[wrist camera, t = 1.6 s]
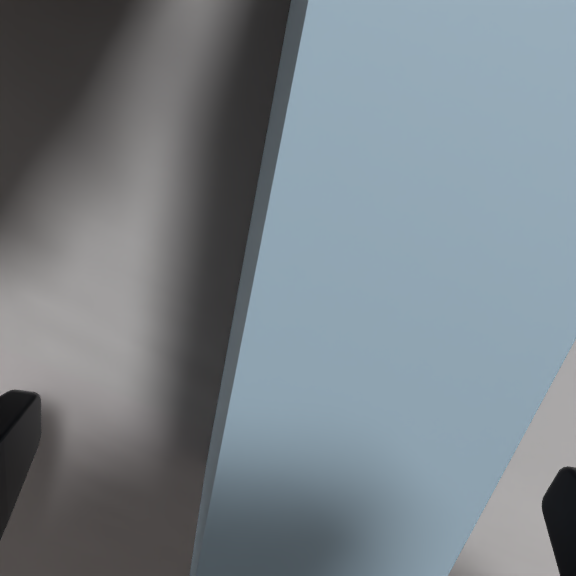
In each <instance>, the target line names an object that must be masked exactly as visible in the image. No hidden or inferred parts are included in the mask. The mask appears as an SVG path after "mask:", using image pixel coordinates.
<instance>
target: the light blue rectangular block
mask: <svg viewBox="0 0 576 576" xmlns="http://www.w3.org/2000/svg"><path fill="white" fill-rule="evenodd" d="M575 339H576V0H291V3H290V9H289V14H288V20H287V25H286V31H285V36H284V42H283V47H282V52H281V58H280V63H279V69H278V74H277V80H276V85H275V91H274V96H273V102H272V107H271V113H270V118H269V124H268V129H267V135H266V140H265V146H264V151H263V156H262V162H261V167H260V173H259V178H258V184H257V189H256V195H255V200H254V206H253V211H252V217H251V222H250V228H249V233H248V239H247V244H246V250H245V255H244V261H243V266H242V271H241V277H240V282H239V288H238V293H237V299H236V304H235V310H234V315H233V321H232V326H231V332H230V337H229V343H228V348H227V354H226V359H225V365H224V370H223V375H222V381H221V386H220V392H219V397H218V403H217V408H216V414H215V419H214V425H213V430H212V436H211V441H210V447H209V452H208V458H207V463H206V470H205V476H204V483H203V490H202V496H201V503H200V510H199V516H198V523H197V530H196V536H195V543H194V550H193V556H192V563H191V570H190V576H448V574H449V573H450V571H451V569H452V567H453V565H454V563H455V561H456V560H457V558H458V556H459V554H460V552H461V550H462V549H463V547H464V545H465V543H466V541H467V539H468V537H469V536H470V534H471V532H472V530H473V528H474V526H475V524H476V523H477V521H478V519H479V517H480V515H481V513H482V511H483V510H484V508H485V506H486V504H487V502H488V500H489V498H490V497H491V495H492V493H493V491H494V489H495V487H496V486H497V484H498V482H499V480H500V478H501V476H502V474H503V473H504V471H505V469H506V467H507V465H508V463H509V461H510V460H511V458H512V456H513V454H514V452H515V450H516V448H517V447H518V445H519V443H520V441H521V439H522V437H523V436H524V434H525V432H526V430H527V428H528V426H529V424H530V423H531V421H532V419H533V417H534V415H535V413H536V411H537V410H538V408H539V406H540V404H541V402H542V400H543V398H544V397H545V395H546V393H547V391H548V389H549V387H550V386H551V384H552V382H553V380H554V378H555V376H556V374H557V373H558V371H559V369H560V367H561V365H562V363H563V361H564V360H565V358H566V356H567V354H568V352H569V350H570V348H571V347H572V345H573V343H574V341H575Z"/></svg>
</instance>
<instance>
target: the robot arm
mask: <svg viewBox="0 0 576 576" xmlns="http://www.w3.org/2000/svg"><path fill="white" fill-rule="evenodd" d="M40 437H41V399H40V396H39V394H37V393H36V392H30V391H23V390H10V391H8V392H6V393H5V394H3V395H1V396H0V540H1V538H2V535H3V533H4V531H5V528H6V526H7V523H8V521H9V518H10V516H11V513H12V511H13V508H14V506H15V503H16V501H17V498H18V496H19V493H20V491H21V488H22V486H23V483H24V481H25V478H26V476H27V473H28V470H29V468H30V465H31V463H32V460H33V458H34V455H35V453H36V450H37V448H38V445H39V441H40ZM542 512H543V516H544V519H545V523H546V526H547V530H548V534H549V537H550V541H551V544H552V548H553V551H554V555H555V559H556V562H557V566H558V569H559V573H560V576H576V468H575V467H563V468H562V469H560V470H559V472H558V473H557V475H556V477H555V478H554V480H553V482H552V483H551V485H550V487H549V488H548V490H547V492H546V493H545V495H544V497H543V500H542Z"/></svg>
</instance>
